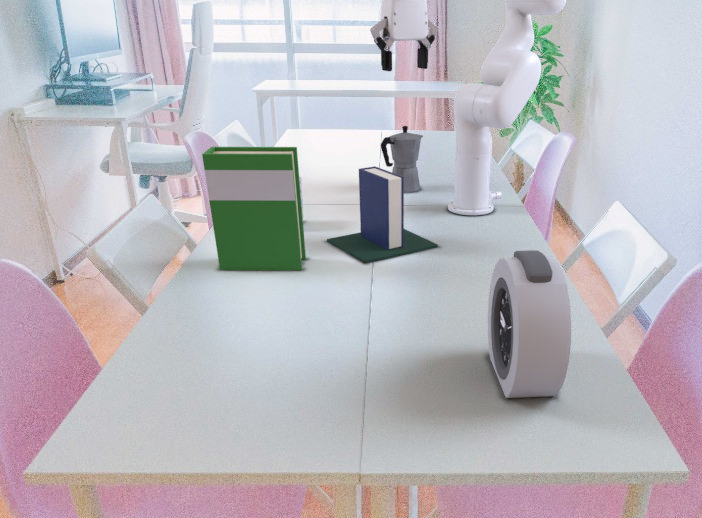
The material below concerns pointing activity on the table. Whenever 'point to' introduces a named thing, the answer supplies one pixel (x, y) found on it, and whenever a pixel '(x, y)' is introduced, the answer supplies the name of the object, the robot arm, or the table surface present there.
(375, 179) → the navy book
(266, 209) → the hardback book
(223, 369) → the table surface
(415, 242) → the desk pad
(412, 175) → the coffeepot
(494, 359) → the alarm clock
